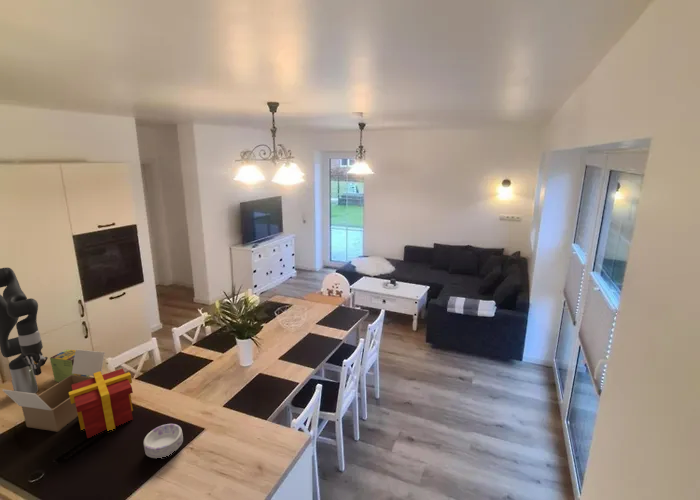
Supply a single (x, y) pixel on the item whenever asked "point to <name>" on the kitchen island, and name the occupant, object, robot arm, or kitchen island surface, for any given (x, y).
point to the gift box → (103, 401)
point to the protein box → (63, 365)
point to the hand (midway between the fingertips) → (38, 374)
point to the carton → (54, 406)
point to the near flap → (27, 399)
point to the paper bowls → (163, 441)
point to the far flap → (87, 362)
